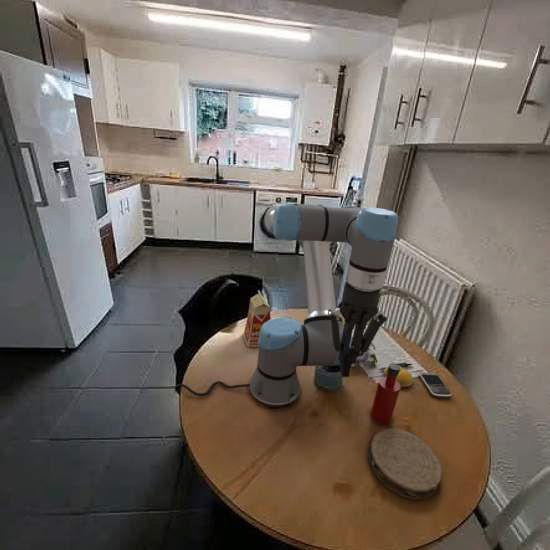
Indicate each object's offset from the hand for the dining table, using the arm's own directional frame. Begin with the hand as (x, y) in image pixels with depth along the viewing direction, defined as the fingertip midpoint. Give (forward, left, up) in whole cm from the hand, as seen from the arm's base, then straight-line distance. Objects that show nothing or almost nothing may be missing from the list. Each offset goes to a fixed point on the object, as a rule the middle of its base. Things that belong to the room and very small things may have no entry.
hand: (344, 372), depth 74 cm
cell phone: (+39, +19, -21) cm, 48 cm away
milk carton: (-19, +42, -21) cm, 51 cm away
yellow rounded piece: (+28, +22, -21) cm, 41 cm away
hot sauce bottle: (+16, +6, -20) cm, 27 cm away
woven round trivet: (+16, -8, -21) cm, 27 cm away
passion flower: (+17, +31, -21) cm, 41 cm away
